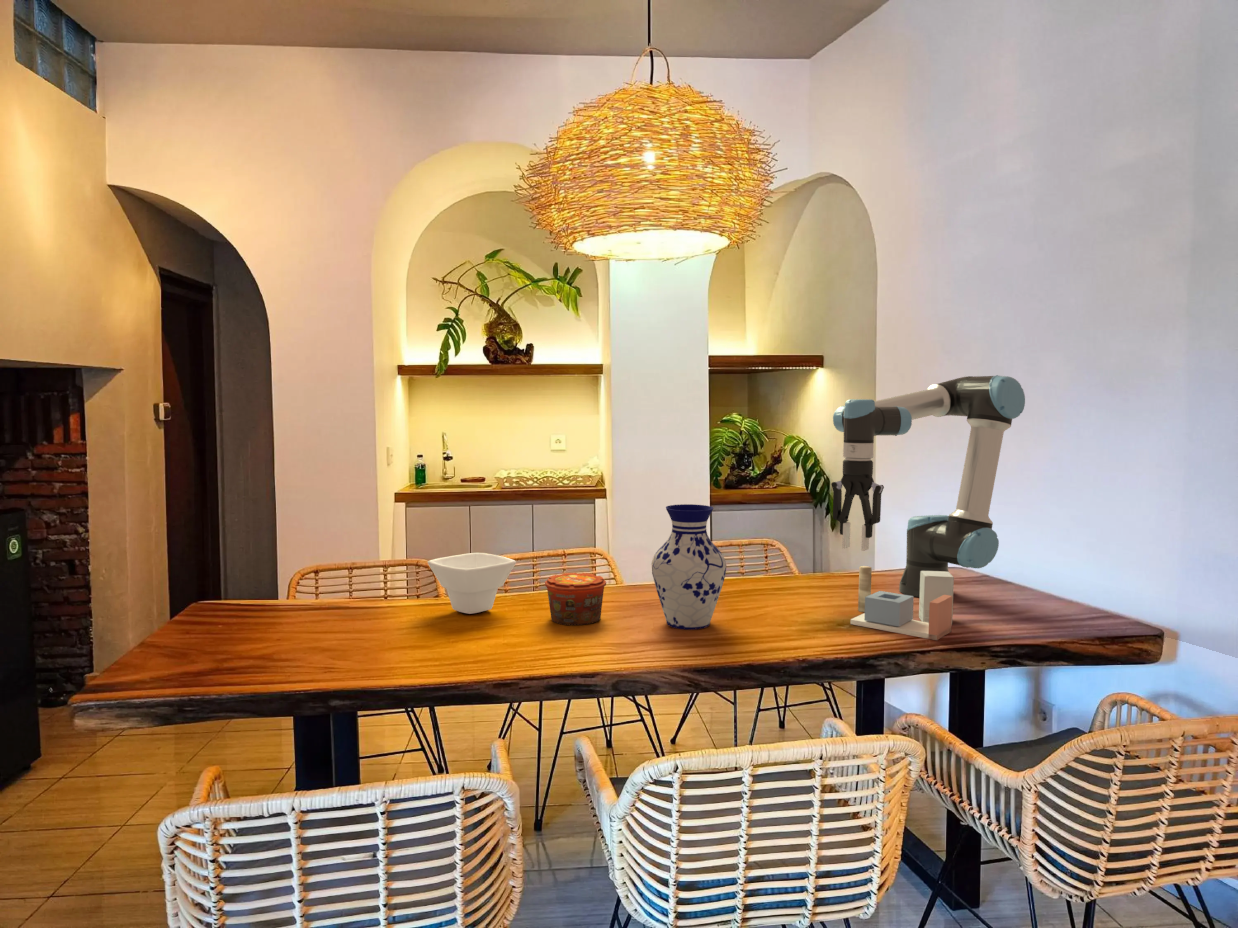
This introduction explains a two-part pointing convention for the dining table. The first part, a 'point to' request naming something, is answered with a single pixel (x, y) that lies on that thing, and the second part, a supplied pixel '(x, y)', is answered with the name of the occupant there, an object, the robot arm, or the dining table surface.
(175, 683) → the dining table surface
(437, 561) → the bowl
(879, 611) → the socket block
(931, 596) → the supplement box
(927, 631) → the peg insertion fixture
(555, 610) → the food container
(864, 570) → the dowel
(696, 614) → the vase
